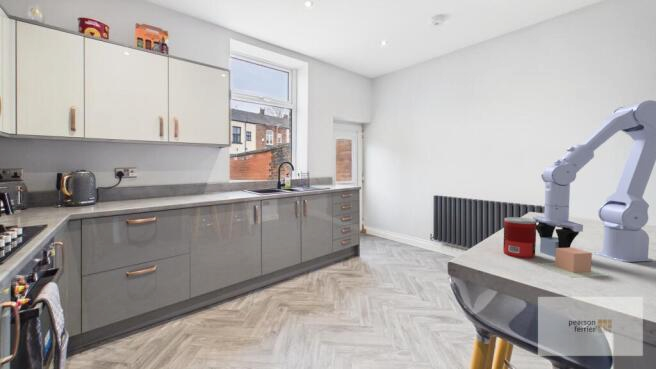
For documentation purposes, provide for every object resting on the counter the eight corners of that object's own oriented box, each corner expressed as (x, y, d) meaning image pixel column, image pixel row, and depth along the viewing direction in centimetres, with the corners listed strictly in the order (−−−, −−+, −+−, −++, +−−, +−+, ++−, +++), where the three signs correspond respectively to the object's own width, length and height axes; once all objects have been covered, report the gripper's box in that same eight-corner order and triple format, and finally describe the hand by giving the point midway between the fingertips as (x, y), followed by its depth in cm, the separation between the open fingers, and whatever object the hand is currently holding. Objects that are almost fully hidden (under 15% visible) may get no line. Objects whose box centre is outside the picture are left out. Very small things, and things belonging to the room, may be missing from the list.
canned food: (540, 260, 82) (541, 222, 81) (509, 258, 83) (510, 221, 83) (527, 252, 89) (528, 217, 89) (499, 251, 91) (500, 216, 90)
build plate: (572, 262, 80) (572, 261, 80) (612, 276, 70) (612, 275, 70) (536, 264, 78) (536, 263, 78) (572, 278, 68) (572, 277, 68)
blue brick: (554, 252, 90) (555, 237, 89) (569, 257, 85) (570, 241, 84) (540, 252, 89) (540, 237, 89) (554, 257, 84) (555, 241, 84)
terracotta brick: (571, 265, 77) (572, 247, 77) (590, 271, 72) (591, 252, 72) (554, 266, 76) (555, 248, 76) (573, 272, 71) (573, 253, 71)
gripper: (525, 202, 93) (523, 244, 93) (567, 209, 78) (565, 258, 79) (544, 202, 93) (543, 243, 94) (590, 208, 79) (588, 257, 80)
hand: (554, 250), depth 87 cm, fingers closed on blue brick, 5 cm apart
